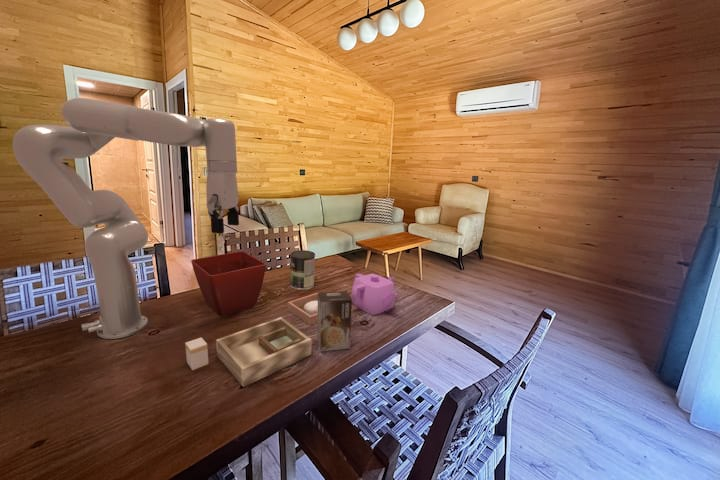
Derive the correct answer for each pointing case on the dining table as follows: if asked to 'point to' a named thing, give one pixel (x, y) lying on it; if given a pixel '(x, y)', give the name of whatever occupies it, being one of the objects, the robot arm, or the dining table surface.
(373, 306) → the teakettle
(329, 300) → the coffee box
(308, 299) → the garlic dish
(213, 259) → the plant pot
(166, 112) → the robot arm
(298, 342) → the walled box
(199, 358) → the small white lidded box
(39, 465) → the dining table surface
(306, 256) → the coffee can
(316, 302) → the garlic
